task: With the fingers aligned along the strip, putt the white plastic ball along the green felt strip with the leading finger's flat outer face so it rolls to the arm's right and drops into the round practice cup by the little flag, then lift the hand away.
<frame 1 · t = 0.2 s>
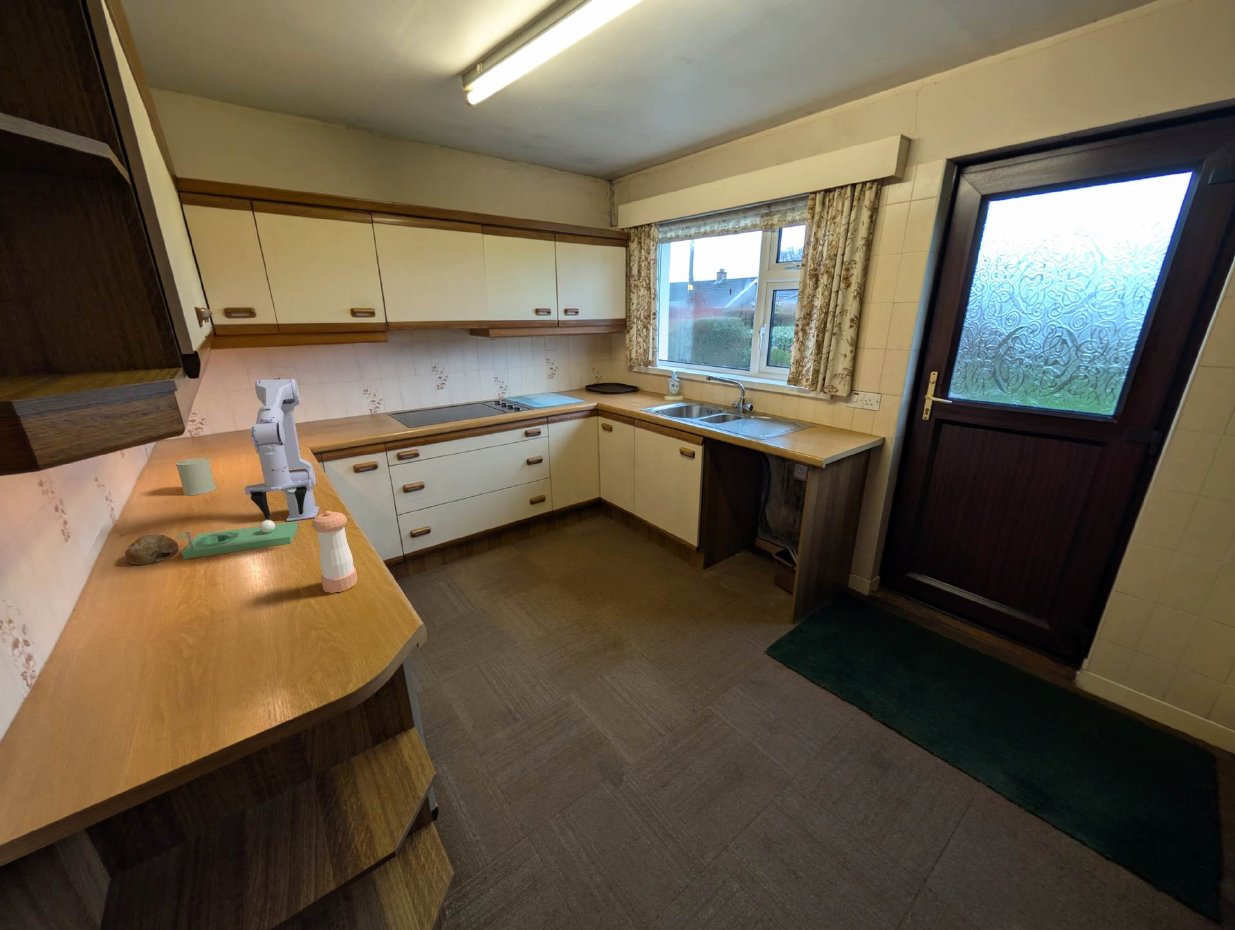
hand: (285, 515, 130), 10 cm above the table, fingers open, 7 cm apart
pepper shaker: (341, 586, 114), on the table
bread roll: (152, 558, 127), on the table
green: (245, 542, 136), on the table
can: (200, 491, 175), on the table
ball: (268, 532, 138), point 2 cm above the table, touching green
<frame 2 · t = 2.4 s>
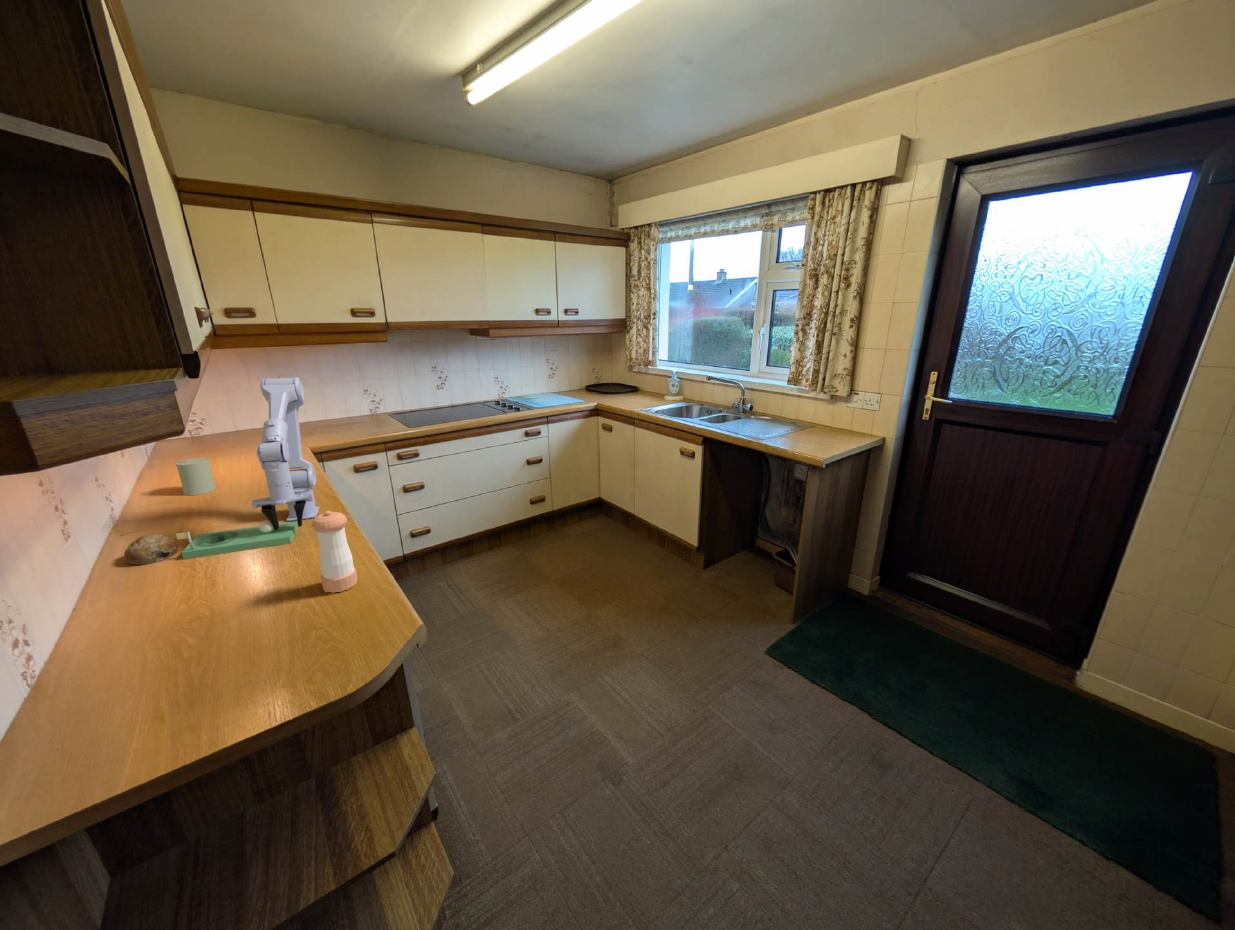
hand: (288, 527, 139), 3 cm above the table, fingers open, 5 cm apart
ball: (268, 532, 138), point 2 cm above the table, tilted 5°, touching green, gripper
everything else where it was.
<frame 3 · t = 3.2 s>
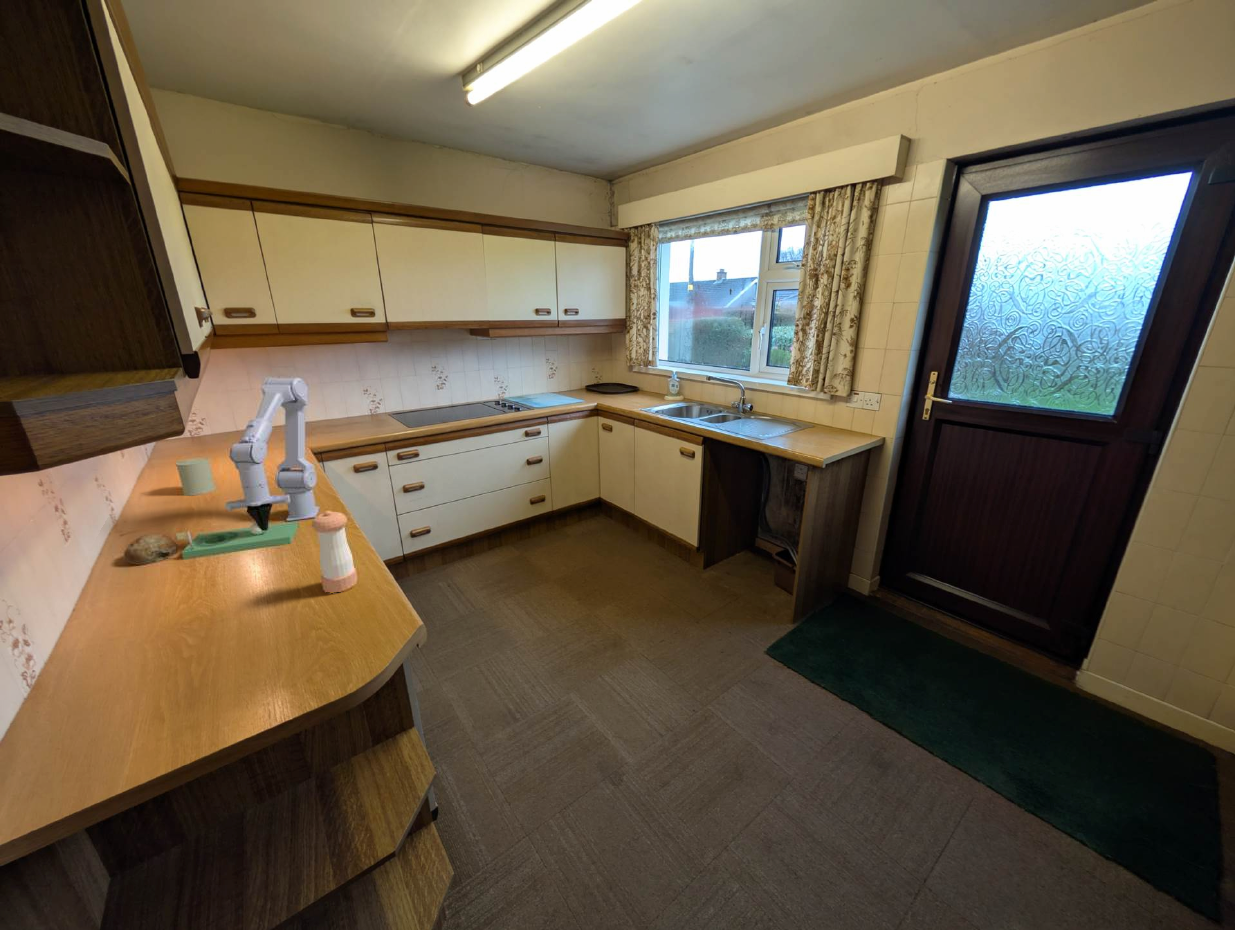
hand: (264, 529, 136), 3 cm above the table, fingers closed, pressing on ball
ball: (265, 528, 137), point 3 cm above the table, tilted 74°, touching green, gripper
everything else where it was.
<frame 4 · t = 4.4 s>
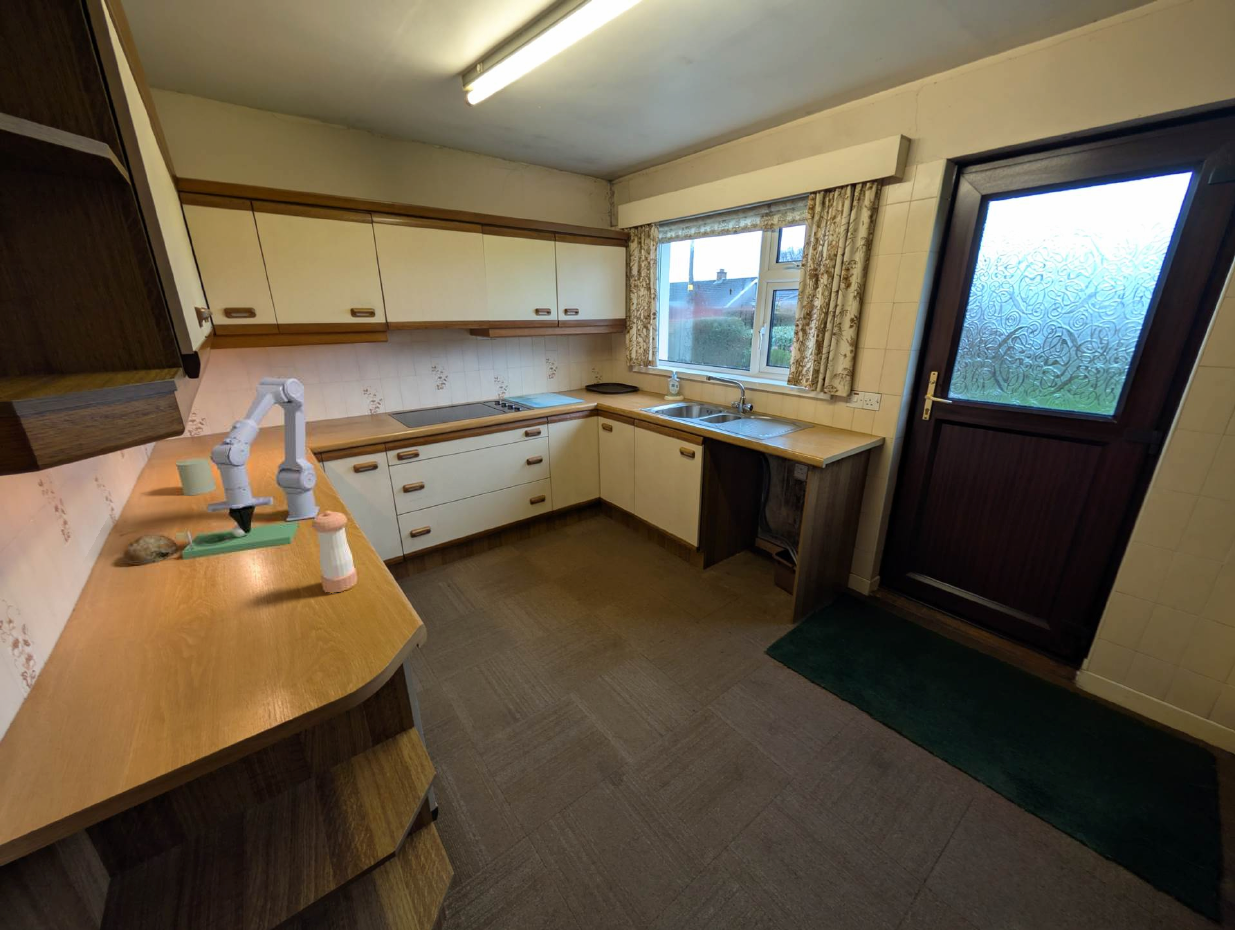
hand: (247, 531, 135), 3 cm above the table, fingers closed, pressing on ball
ball: (235, 525, 134), point 5 cm above the table, tilted 150°, touching green, gripper
everything else where it was.
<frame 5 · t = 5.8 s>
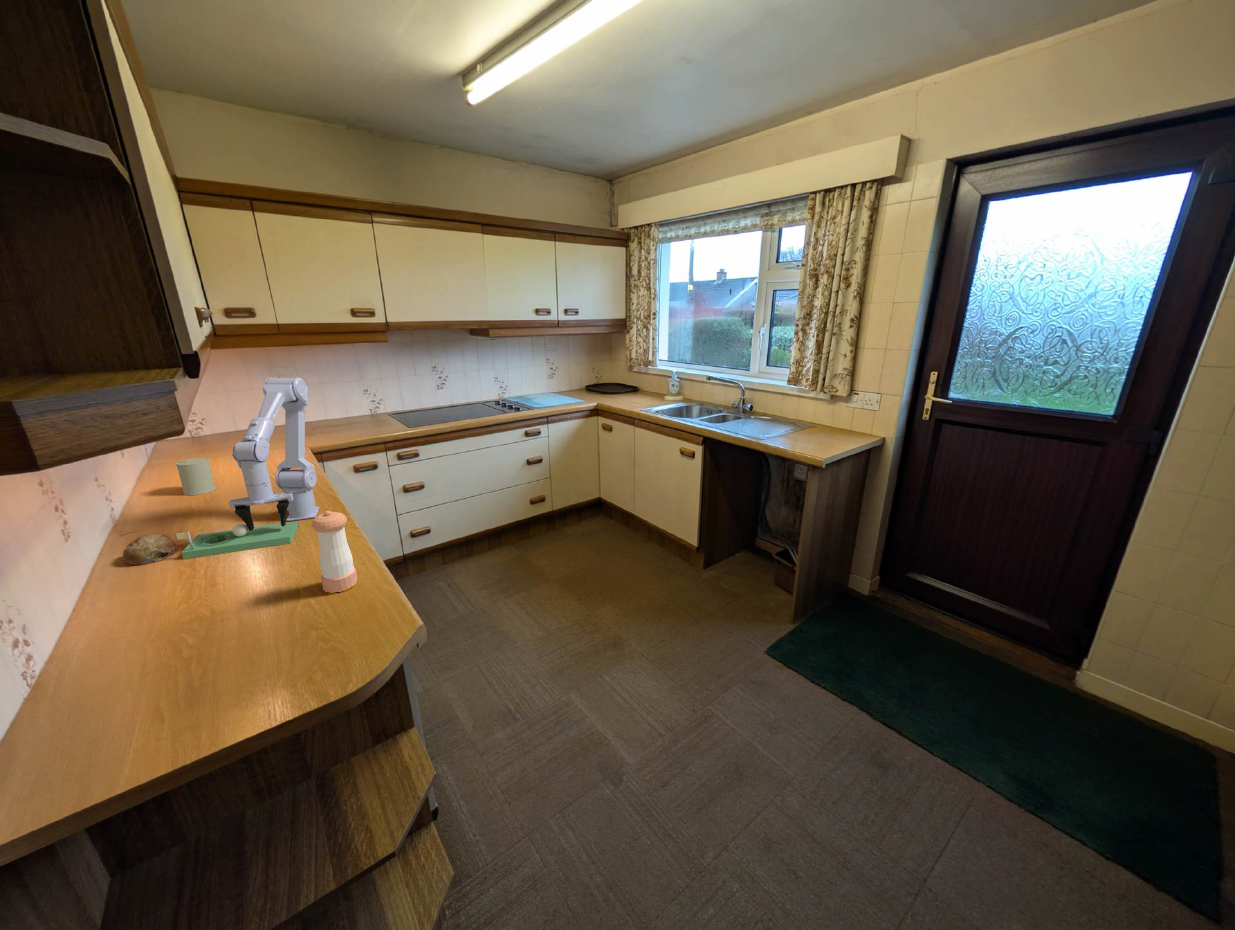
hand: (268, 527, 137), 4 cm above the table, fingers open, 7 cm apart
ball: (236, 524, 134), point 5 cm above the table, tilted 151°, touching green
everything else where it was.
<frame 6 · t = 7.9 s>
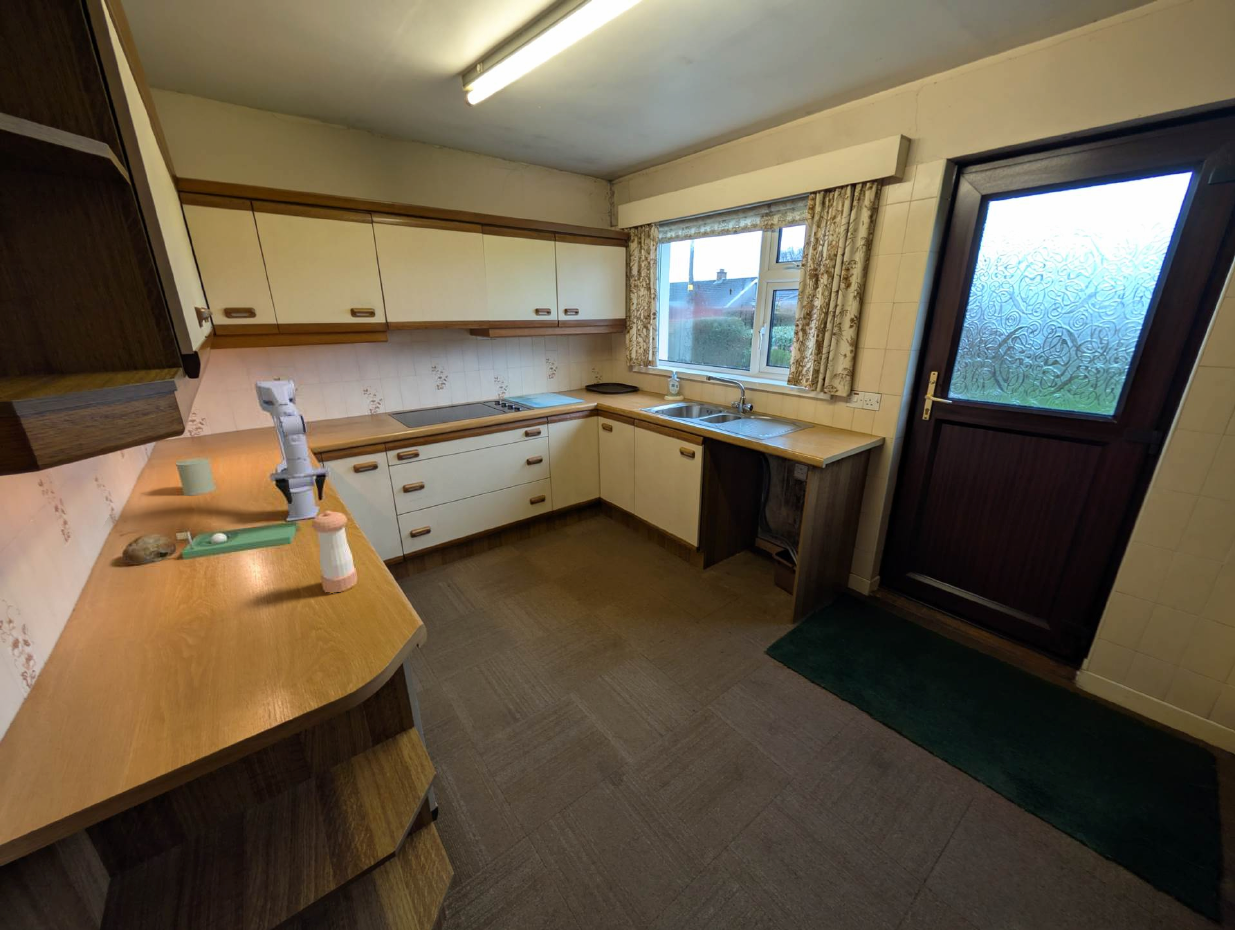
hand: (305, 501, 141), 9 cm above the table, fingers open, 7 cm apart
ball: (225, 542, 134), resting in green, tilted 44°
everything else where it was.
at the end: ball 1.5 cm from the target spot on the green, point 0.6 cm above the green's base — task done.
